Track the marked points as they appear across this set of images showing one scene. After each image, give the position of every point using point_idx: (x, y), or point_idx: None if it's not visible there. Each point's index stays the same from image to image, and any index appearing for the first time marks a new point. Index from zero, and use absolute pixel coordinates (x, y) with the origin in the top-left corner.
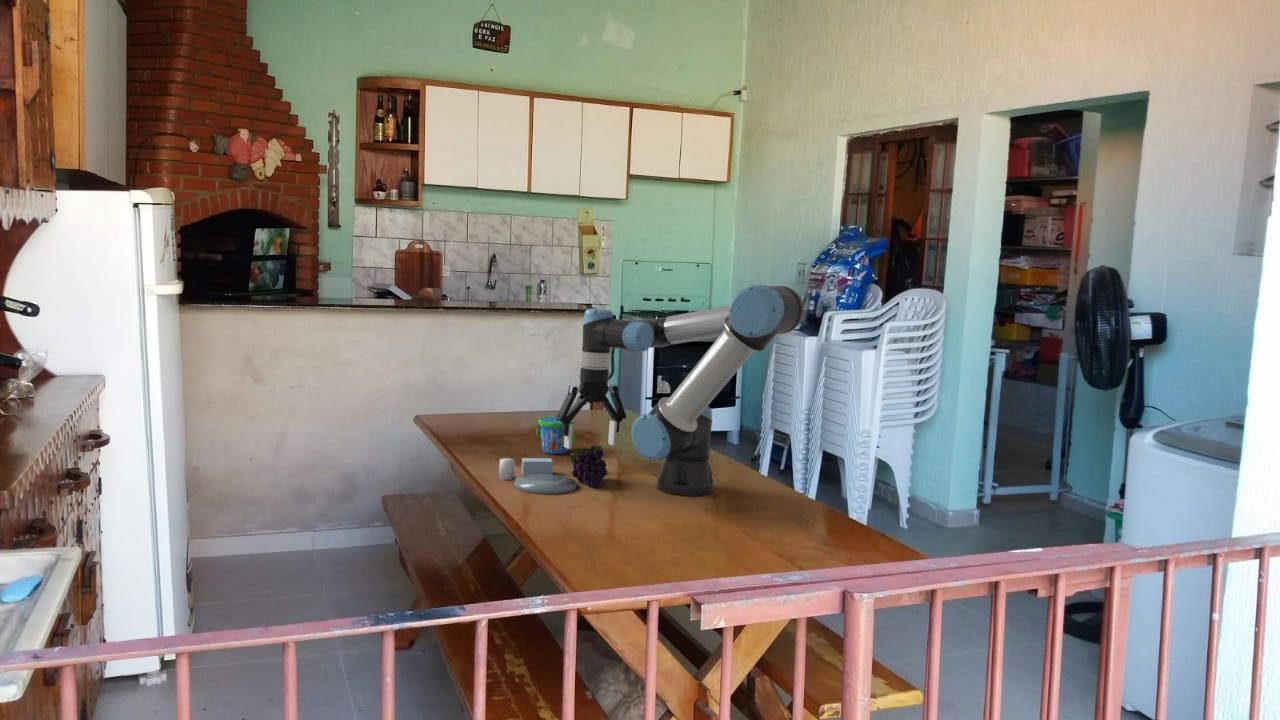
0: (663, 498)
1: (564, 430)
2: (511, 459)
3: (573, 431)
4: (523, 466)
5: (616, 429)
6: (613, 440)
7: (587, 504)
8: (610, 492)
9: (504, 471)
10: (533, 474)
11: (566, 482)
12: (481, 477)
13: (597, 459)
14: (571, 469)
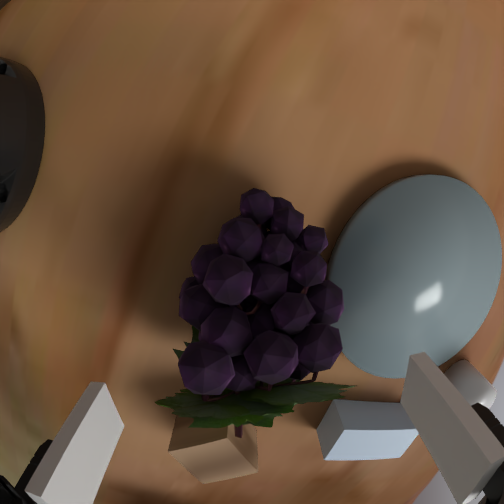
0: (85, 35)
1: (499, 424)
2: None
3: None
4: None
5: (48, 450)
6: (92, 404)
7: (382, 27)
8: (232, 133)
9: (480, 373)
10: None
11: (375, 259)
12: None
13: (233, 311)
14: (252, 429)
